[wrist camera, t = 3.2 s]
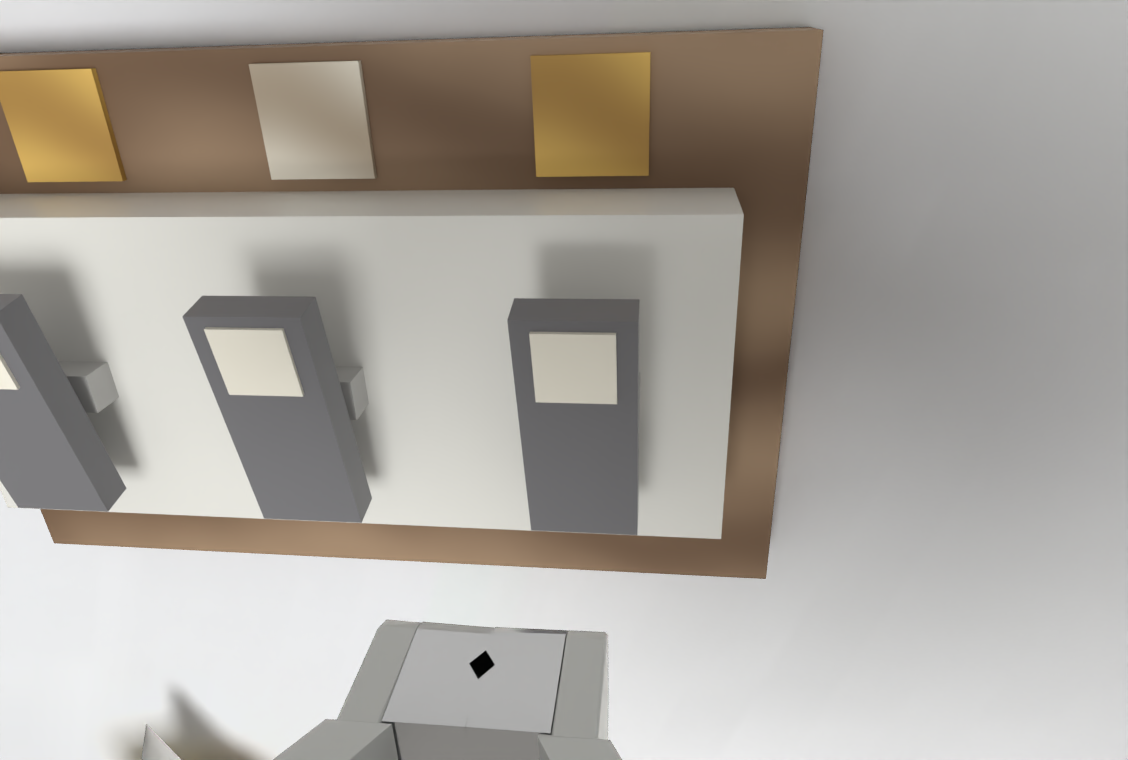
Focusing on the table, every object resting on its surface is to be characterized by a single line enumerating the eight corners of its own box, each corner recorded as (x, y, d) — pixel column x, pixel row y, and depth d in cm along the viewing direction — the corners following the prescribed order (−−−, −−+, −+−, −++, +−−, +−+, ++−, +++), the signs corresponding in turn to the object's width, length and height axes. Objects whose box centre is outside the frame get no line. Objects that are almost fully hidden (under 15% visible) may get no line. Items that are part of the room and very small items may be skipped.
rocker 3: (638, 509, 22) (637, 537, 21) (536, 504, 23) (530, 532, 22) (639, 298, 18) (638, 324, 17) (514, 298, 19) (506, 322, 18)
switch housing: (715, 483, 26) (723, 560, 23) (68, 460, 29) (-15, 525, 25) (733, 187, 22) (747, 225, 18) (-32, 194, 25) (-150, 227, 21)
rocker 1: (126, 488, 24) (106, 513, 23) (39, 484, 25) (16, 509, 24) (21, 293, 20) (-8, 316, 19) (-81, 293, 20) (-115, 314, 20)
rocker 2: (372, 498, 23) (360, 525, 22) (277, 494, 24) (262, 521, 23) (315, 296, 19) (298, 319, 18) (202, 295, 19) (180, 318, 19)
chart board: (759, 543, 30) (766, 582, 28) (87, 513, 33) (50, 546, 31) (810, 27, 22) (824, 30, 20) (-85, 56, 25) (-149, 61, 23)
